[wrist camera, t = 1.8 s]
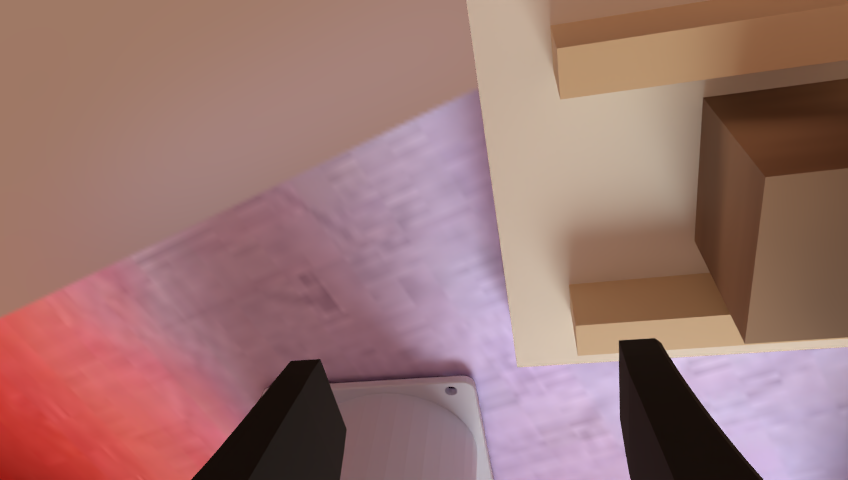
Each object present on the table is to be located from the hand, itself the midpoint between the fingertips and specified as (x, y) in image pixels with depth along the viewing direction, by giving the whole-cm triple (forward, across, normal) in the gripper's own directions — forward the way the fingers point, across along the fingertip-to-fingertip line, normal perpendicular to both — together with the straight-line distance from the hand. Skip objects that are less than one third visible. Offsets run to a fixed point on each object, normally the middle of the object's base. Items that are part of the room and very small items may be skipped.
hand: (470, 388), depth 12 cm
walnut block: (+8, -8, 0) cm, 11 cm away
